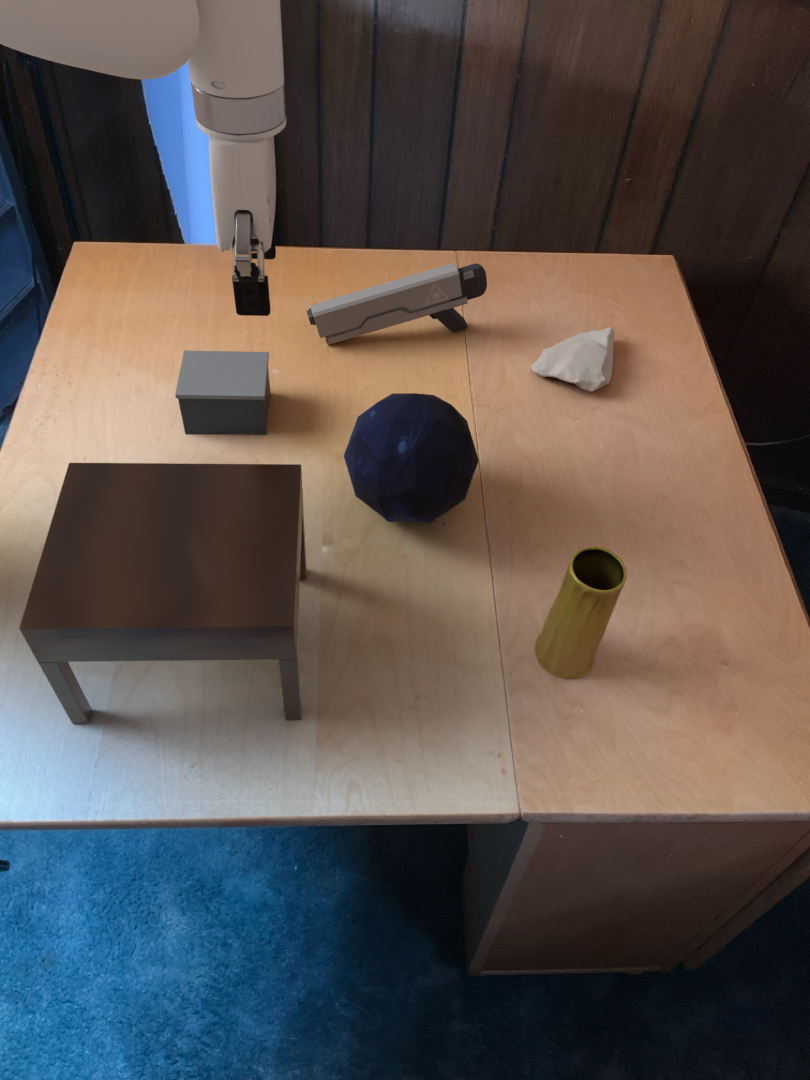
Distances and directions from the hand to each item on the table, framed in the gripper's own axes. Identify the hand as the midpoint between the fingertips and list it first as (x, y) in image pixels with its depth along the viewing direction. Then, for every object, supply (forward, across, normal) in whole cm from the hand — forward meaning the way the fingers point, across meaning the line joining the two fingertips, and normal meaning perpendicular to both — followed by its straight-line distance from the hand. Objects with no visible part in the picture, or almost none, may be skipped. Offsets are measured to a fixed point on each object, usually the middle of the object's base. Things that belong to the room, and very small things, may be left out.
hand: (257, 284), depth 80 cm
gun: (+24, -24, +16) cm, 38 cm away
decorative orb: (+24, +8, +16) cm, 30 cm away
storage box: (+24, -7, -6) cm, 25 cm away
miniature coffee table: (+23, +27, -6) cm, 36 cm away
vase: (+24, +29, +31) cm, 48 cm away
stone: (+24, -18, +42) cm, 52 cm away
